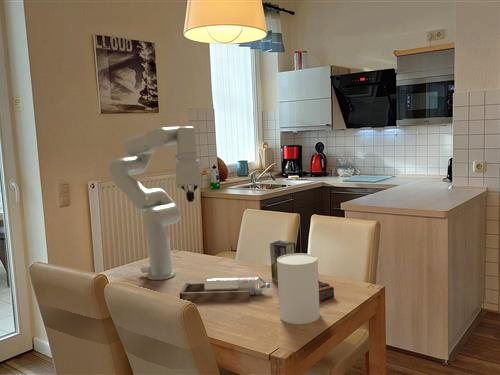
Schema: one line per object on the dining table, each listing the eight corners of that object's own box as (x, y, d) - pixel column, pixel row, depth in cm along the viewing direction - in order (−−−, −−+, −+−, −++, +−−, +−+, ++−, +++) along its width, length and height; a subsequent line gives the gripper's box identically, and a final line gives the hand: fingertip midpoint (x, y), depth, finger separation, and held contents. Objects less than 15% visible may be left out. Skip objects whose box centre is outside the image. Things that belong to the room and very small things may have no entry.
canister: (323, 322, 162) (321, 262, 159) (282, 325, 161) (279, 265, 158) (315, 307, 175) (312, 252, 173) (277, 310, 174) (274, 255, 172)
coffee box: (297, 280, 205) (296, 242, 203) (287, 284, 201) (285, 246, 199) (281, 276, 212) (279, 239, 209) (271, 280, 207) (269, 243, 205)
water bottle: (204, 296, 189) (269, 295, 187) (203, 278, 190) (268, 276, 188) (207, 295, 195) (270, 294, 193) (206, 278, 196) (269, 276, 195)
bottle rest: (180, 302, 187) (179, 293, 187) (186, 291, 199) (185, 283, 199) (250, 300, 185) (249, 291, 185) (252, 289, 197) (251, 281, 197)
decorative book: (311, 287, 196) (310, 275, 196) (336, 299, 182) (336, 286, 182) (287, 293, 191) (286, 281, 190) (311, 306, 177) (311, 292, 176)
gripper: (167, 158, 199) (170, 203, 201) (204, 156, 198) (207, 202, 200) (171, 157, 206) (174, 200, 208) (207, 155, 205) (210, 199, 207)
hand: (190, 201), depth 204 cm, fingers closed
